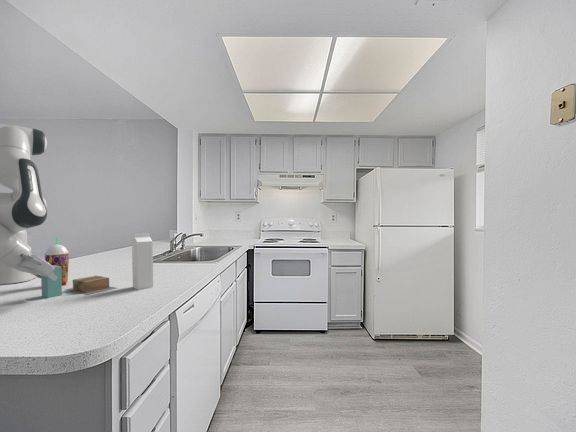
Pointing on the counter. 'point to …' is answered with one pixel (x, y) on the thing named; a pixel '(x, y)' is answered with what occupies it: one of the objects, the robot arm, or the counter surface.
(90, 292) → the mat
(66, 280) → the smoothie
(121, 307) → the counter surface
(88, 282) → the base slab
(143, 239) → the milk
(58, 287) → the pillar
